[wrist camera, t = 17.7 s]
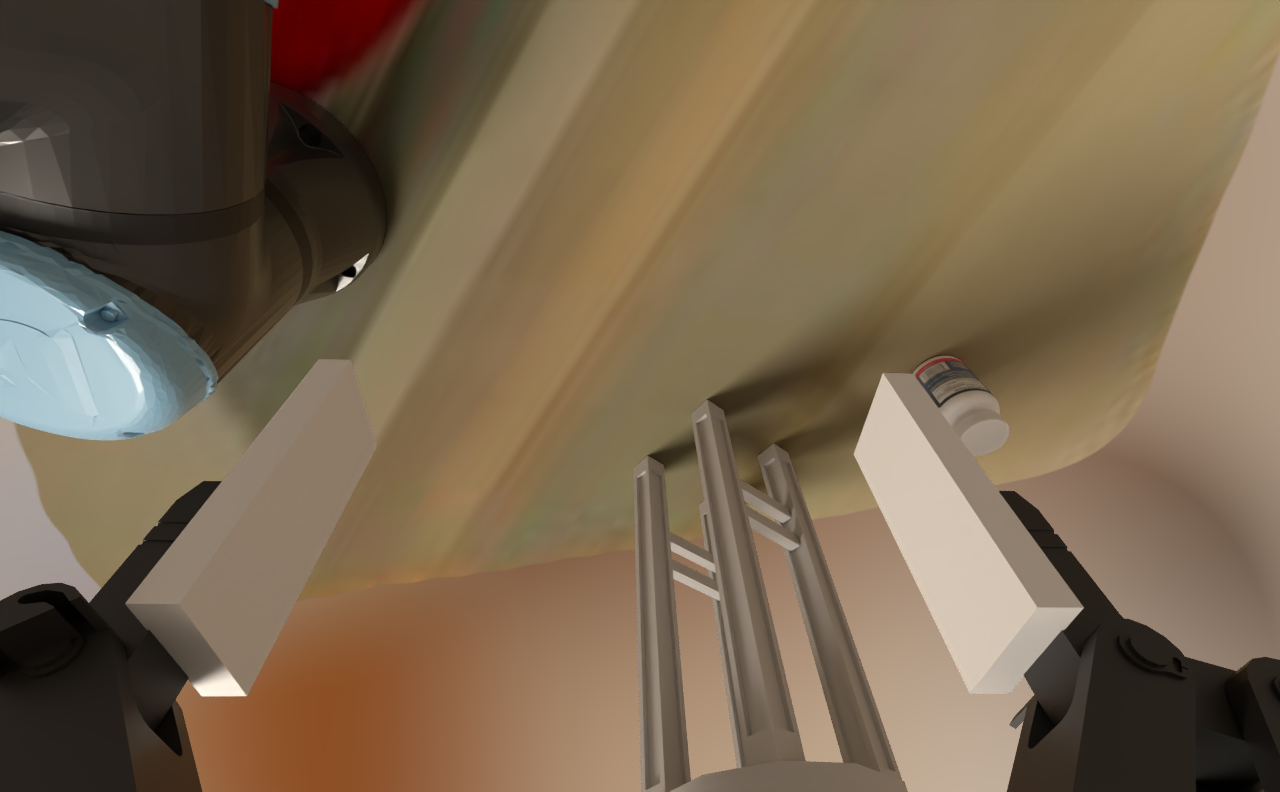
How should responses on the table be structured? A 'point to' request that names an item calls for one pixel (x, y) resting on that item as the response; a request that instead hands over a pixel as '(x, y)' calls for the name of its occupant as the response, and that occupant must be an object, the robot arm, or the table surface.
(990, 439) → the pill bottle
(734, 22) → the table surface
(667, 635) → the stool
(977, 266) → the table surface
